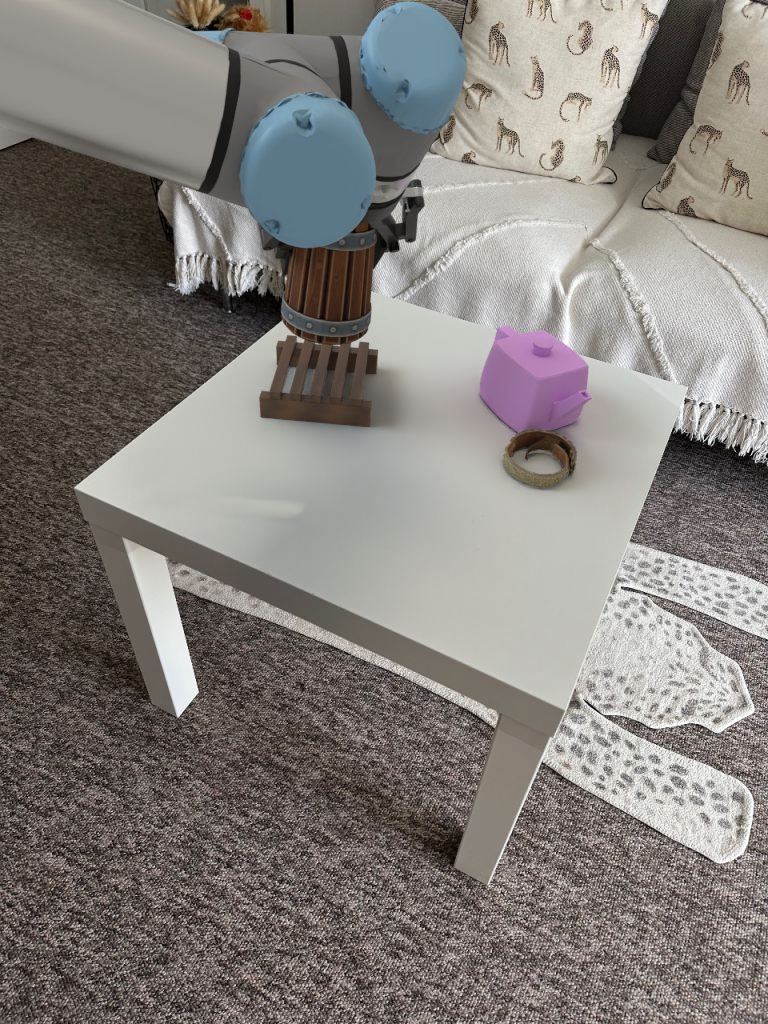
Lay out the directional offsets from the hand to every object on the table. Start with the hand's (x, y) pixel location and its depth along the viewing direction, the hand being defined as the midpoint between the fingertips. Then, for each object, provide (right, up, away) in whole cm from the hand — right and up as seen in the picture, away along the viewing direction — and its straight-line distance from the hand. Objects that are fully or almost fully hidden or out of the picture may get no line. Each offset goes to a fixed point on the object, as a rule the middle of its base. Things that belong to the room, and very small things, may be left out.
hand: (327, 260), depth 84 cm
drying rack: (-2, -14, +11) cm, 18 cm away
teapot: (+26, -16, +12) cm, 33 cm away
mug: (0, -6, +2) cm, 7 cm away
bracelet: (+25, -24, +3) cm, 35 cm away
